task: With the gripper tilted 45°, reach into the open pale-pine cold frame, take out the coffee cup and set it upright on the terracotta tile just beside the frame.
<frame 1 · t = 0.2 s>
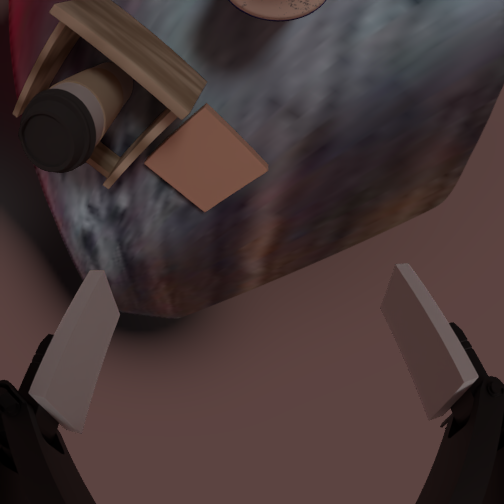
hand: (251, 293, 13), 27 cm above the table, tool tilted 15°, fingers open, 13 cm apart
coffee cup: (110, 85, 29), resting in cold frame
terracotta tile: (205, 159, 38), on the table
cold frame: (109, 85, 29), on the table
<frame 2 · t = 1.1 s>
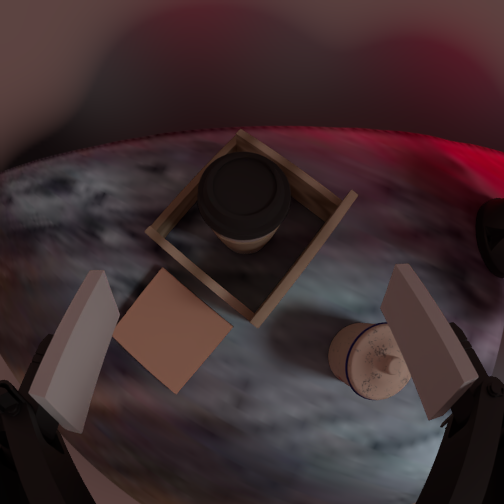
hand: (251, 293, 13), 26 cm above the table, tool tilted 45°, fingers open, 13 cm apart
coffee cup: (244, 230, 41), resting in cold frame
teacup with lid: (365, 352, 37), on the table
terracotta tile: (170, 331, 37), on the table
cold frame: (244, 229, 40), on the table
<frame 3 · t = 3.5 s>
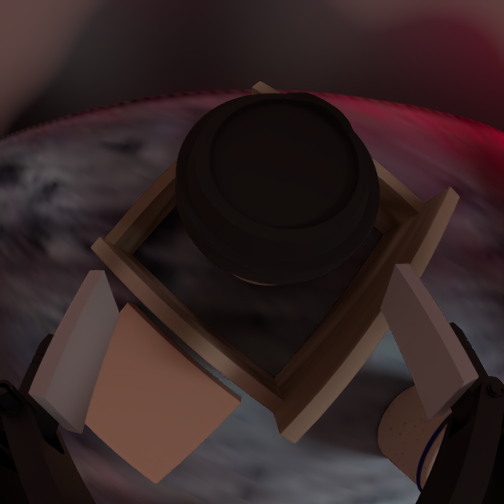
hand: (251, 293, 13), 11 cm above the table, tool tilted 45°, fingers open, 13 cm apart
coffee cup: (261, 244, 25), resting in cold frame
teacup with lid: (423, 419, 22), on the table
terracotta tile: (143, 398, 22), on the table
cold frame: (261, 244, 25), on the table
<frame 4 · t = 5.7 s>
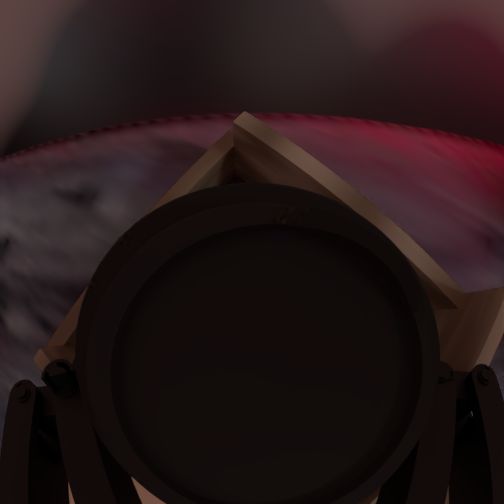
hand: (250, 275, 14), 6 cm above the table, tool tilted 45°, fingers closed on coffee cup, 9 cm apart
coffee cup: (249, 335, 19), resting in cold frame, touching gripper
terracotta tile: (123, 488, 16), on the table
cold frame: (249, 335, 19), on the table
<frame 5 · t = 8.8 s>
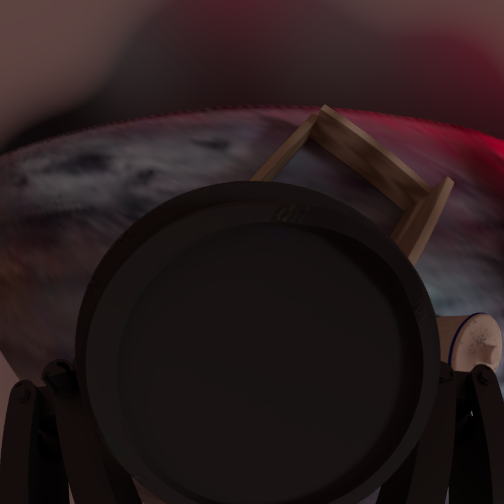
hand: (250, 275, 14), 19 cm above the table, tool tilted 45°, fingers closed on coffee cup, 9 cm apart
coffee cup: (250, 334, 19), point 13 cm above the table, touching gripper
teacup with lid: (443, 347, 32), on the table
cold frame: (326, 216, 35), on the table
when the fingers open (9 cm above the table, at t = 11.8 s): coffee cup drops 1 cm, resting on terracotta tile.
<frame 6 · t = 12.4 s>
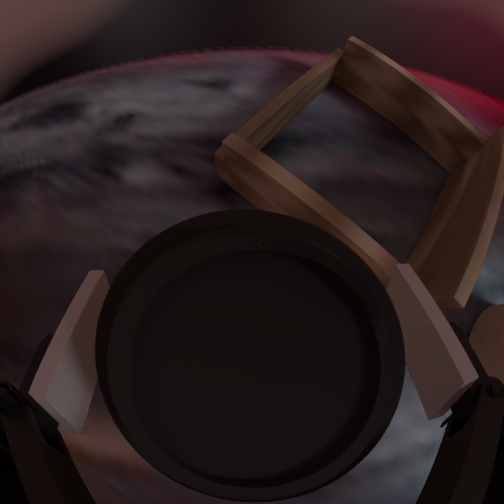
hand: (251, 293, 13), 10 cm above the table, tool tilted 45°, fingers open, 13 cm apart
coffee cup: (247, 334, 20), point 1 cm above the table, touching terracotta tile
teacup with lid: (496, 344, 22), on the table
cold frame: (360, 170, 25), on the table
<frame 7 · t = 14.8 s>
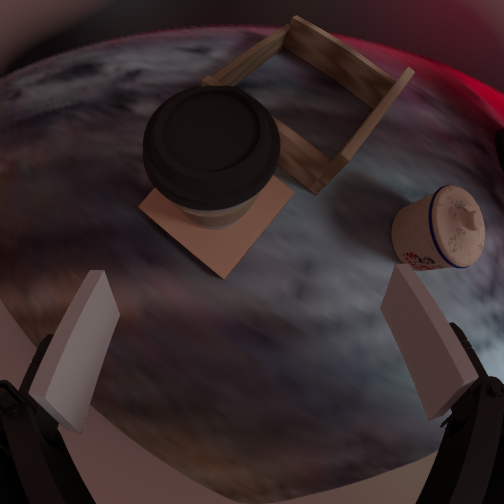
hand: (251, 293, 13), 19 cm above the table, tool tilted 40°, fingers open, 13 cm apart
coffee cup: (215, 199, 31), point 1 cm above the table, touching terracotta tile
teacup with lid: (423, 239, 34), on the table
terracotta tile: (216, 202, 32), on the table
cold frame: (298, 104, 34), on the table
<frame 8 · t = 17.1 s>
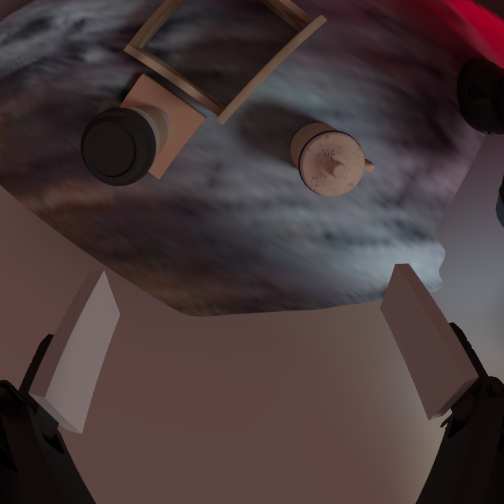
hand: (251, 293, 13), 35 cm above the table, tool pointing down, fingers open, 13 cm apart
coffee cup: (149, 127, 39), point 1 cm above the table, touching terracotta tile
teacup with lid: (325, 150, 43), on the table
terracotta tile: (152, 125, 40), on the table
cold frame: (219, 35, 33), on the table
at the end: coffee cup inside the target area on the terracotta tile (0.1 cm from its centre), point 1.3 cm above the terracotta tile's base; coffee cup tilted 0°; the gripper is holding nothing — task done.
